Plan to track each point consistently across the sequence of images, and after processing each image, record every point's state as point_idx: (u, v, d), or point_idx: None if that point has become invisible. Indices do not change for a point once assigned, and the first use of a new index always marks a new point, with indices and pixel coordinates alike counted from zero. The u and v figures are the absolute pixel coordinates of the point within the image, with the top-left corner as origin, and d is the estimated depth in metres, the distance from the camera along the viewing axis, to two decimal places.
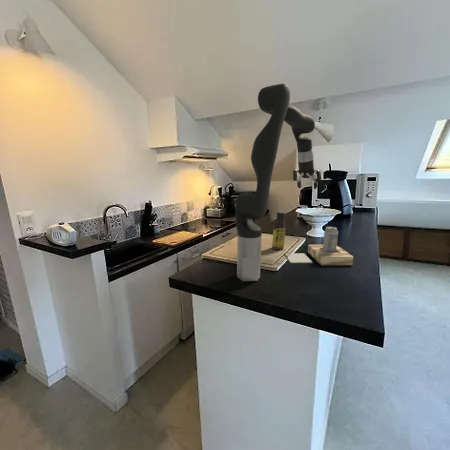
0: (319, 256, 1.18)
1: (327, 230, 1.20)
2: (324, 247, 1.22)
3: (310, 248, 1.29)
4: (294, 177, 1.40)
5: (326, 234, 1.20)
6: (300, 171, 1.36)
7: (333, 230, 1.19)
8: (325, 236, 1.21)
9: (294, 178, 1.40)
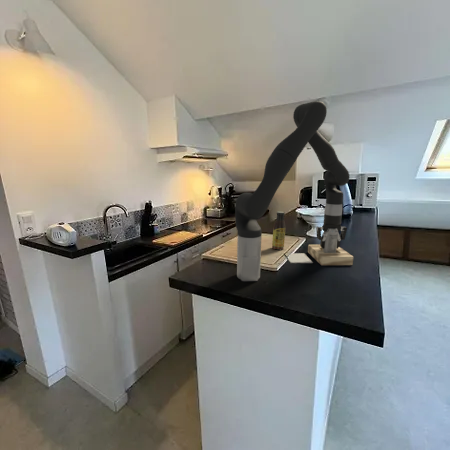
0: (319, 256, 1.18)
1: (327, 230, 1.20)
2: None
3: (310, 248, 1.29)
4: (319, 235, 1.21)
5: None
6: (326, 227, 1.20)
7: (333, 230, 1.19)
8: None
9: (320, 237, 1.21)
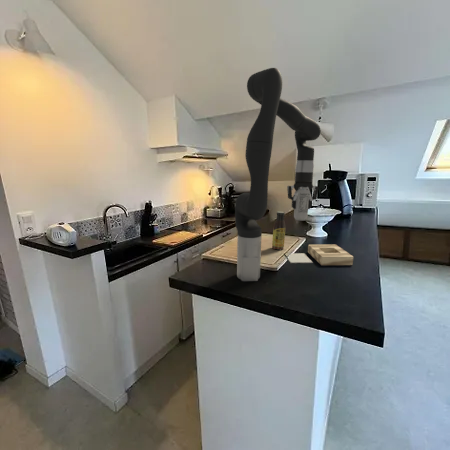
0: (319, 256, 1.18)
1: (298, 189, 1.15)
2: None
3: (310, 248, 1.29)
4: (290, 194, 1.16)
5: None
6: (297, 185, 1.15)
7: (304, 188, 1.14)
8: None
9: (291, 196, 1.16)
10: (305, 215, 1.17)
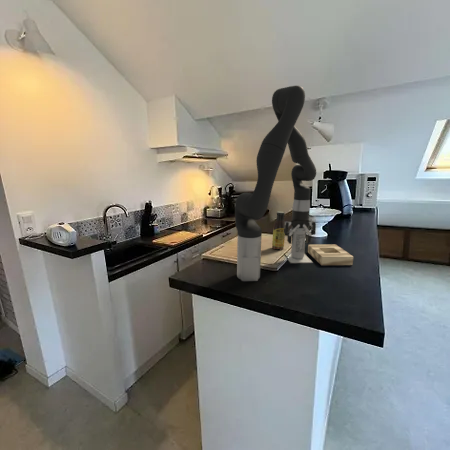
0: (319, 256, 1.18)
1: None
2: (292, 246, 1.22)
3: (310, 248, 1.29)
4: (286, 230, 1.20)
5: (293, 233, 1.20)
6: (295, 223, 1.19)
7: (300, 229, 1.18)
8: (293, 235, 1.21)
9: (286, 231, 1.20)
10: (302, 254, 1.21)
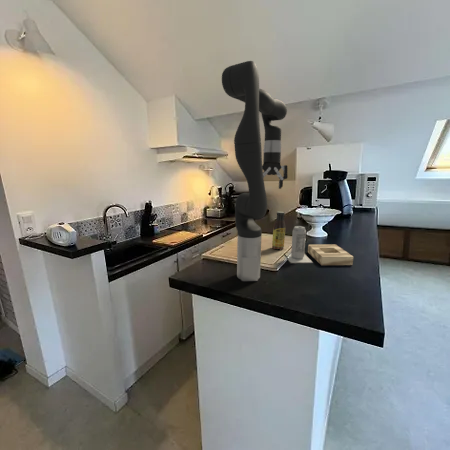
0: (319, 256, 1.18)
1: (295, 229, 1.20)
2: (292, 246, 1.22)
3: (310, 248, 1.29)
4: None
5: (294, 233, 1.20)
6: (266, 166, 1.15)
7: (300, 229, 1.18)
8: (293, 235, 1.21)
9: None
10: (302, 254, 1.21)
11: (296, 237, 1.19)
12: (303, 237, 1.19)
